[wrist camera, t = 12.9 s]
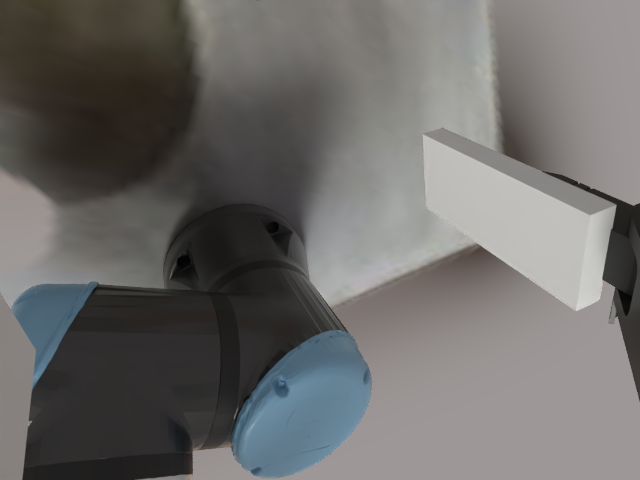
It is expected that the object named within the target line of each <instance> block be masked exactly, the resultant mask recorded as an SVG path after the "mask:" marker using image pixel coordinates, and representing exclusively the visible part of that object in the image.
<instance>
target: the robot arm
mask: <svg viewBox="0 0 640 480" xmlns="http://www.w3.org/2000/svg"><path fill="white" fill-rule="evenodd" d="M423 152H424V173H425V194H426V208H427V209H429V210H430V211H431V212H433V213H434V214H436V215H437V216H439V217H440V218H442V219H443V220H444V221H446V222H447V223H449V224H450V225H452V226H453V227H455V228H456V229H458V230H459V231H460V232H462V233H463V234H465V235H466V236H468V237H469V238H471V239H472V240H473V241H475V242H476V243H478V244H479V245H481V246H482V247H484V248H485V249H486V250H488V251H490V252H491V253H492V254H494V255H495V256H497V257H498V258H500V259H501V260H503V261H504V262H505V263H507V264H508V265H510V266H511V267H513V268H514V269H515V270H517V271H519V272H520V273H521V274H523V275H524V276H526V277H527V278H528V279H530V280H531V281H533V282H534V283H536V284H537V285H539V286H540V287H542V288H543V289H545V290H546V291H547V292H549V293H550V294H552V295H553V296H555V297H556V298H557V299H559V300H560V301H562V302H563V303H565V304H566V305H568V306H569V307H570V308H572V309H573V310H575V311H578V310H580V309H582V308H584V307H586V306H588V305H590V304H592V303H594V302H597V301H599V300H600V295H601V288H602V283H603V280H604V281H606V282H608V283H609V284H611V285H613V286H614V287H615V292H614V297H613V302H612V307H611V312H610V317H609V323H610V324H614V321H615V317H617V316H618V319H619V323H620V327H621V331H622V335H623V339H624V342H625V346H626V350H627V354H628V358H629V361H630V365H631V369H632V373H633V377H634V381H635V385H636V388H637V392H638V396H639V400H640V203H639V204H636V205H635V206H633V205H630V204H628V203H626V202H623V201H621V200H619V199H616V198H614V197H611V196H609V195H607V194H605V193H602V192H600V191H598V190H596V189H590V187H588V186H586V185H584V184H581V183H580V184H578V182H577V181H574V180H572V179H570V178H568V177H565V176H563V175H559V174H554V173H549V172H544V171H542V172H541V171H539V170H537V169H535V168H532V167H530V166H528V165H525V164H523V163H521V162H519V161H516V160H514V159H512V158H510V157H507V156H505V155H503V154H501V153H498V152H496V151H494V150H492V149H489V148H487V147H485V146H482V145H480V144H478V143H476V142H473V141H471V140H469V139H467V138H464V137H462V136H460V135H458V134H455V133H453V132H451V131H448V130H446V129H444V128H441V129H437V130H434V131H431V132H428V133H425V134H423ZM164 284H165V288H166V289H159V288H141V287H127V286H114V285H100V284H99V283H98V282H90V283H89V284H41V285H37V286H34V287H31V288H29V289H28V290H26V291H25V292H23V293H22V294H21V295H20V296H19V297H18V298H17V299H16V301H15V302H14V304H13V306H12V308H11V309H10V308H9V306H8V304H7V303H6V301H5V299H4V298H3V296H2V295H1V293H0V480H192V474H193V467H192V466H193V465H192V463H193V461H192V460H193V458H192V452H193V451H194V450H203V449H213V448H225V447H231V448H232V452H233V455H234V457H235V459H236V460H237V462H238V463H240V464H241V465H242V467H243V468H244V469H245V470H248V471H250V472H251V473H252V474H253V475H255V476H258V477H263V478H279V477H285V476H289V475H292V474H295V473H298V472H301V471H303V470H305V469H307V468H309V467H311V466H313V465H315V464H316V463H318V462H319V461H321V460H322V459H324V458H326V457H327V456H328V455H330V454H331V453H332V452H333V451H334V450H335V449H336V448H337V447H338V446H340V445H341V444H342V443H343V442H344V441H345V440H346V439H347V438H348V437H349V436H350V435H351V433H352V432H353V431H354V430H355V428H356V427H357V425H358V424H359V422H360V421H361V419H362V417H363V415H364V413H365V411H366V409H367V406H368V403H369V400H370V396H371V388H372V381H371V374H370V371H369V367H368V365H367V363H366V361H365V360H364V358H363V356H362V355H361V353H360V351H359V350H358V346H357V344H356V342H355V339H354V338H353V337H352V336H351V334H349V332H348V331H347V330H346V329H345V327H344V326H343V325H342V323H341V322H340V320H339V319H338V318H337V316H336V315H335V314H334V312H333V311H332V310H331V308H330V307H329V306H328V304H327V303H326V302H325V300H324V299H323V298H322V296H321V295H320V293H319V292H318V291H317V289H316V288H315V287H314V285H313V284H312V283H311V282H310V279H309V271H308V263H307V256H306V251H305V248H304V246H303V243H302V241H301V239H300V238H299V236H298V235H297V233H296V232H295V231H294V229H293V228H292V227H291V225H290V224H289V223H288V222H287V221H286V220H285V219H284V218H283V217H281V216H280V215H278V214H277V213H275V212H273V211H271V210H269V209H266V208H263V207H260V206H255V205H243V204H242V205H230V206H225V207H221V208H218V209H215V210H212V211H210V212H208V213H206V214H204V215H202V216H200V217H199V218H197V219H196V220H194V221H193V222H192V223H190V224H189V225H188V226H187V227H186V228H185V229H184V230H183V231H182V232H181V233H180V234H179V235H178V237H177V238H176V239H175V241H174V242H173V244H172V246H171V247H170V249H169V252H168V254H167V257H166V260H165V265H164Z"/></svg>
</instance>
